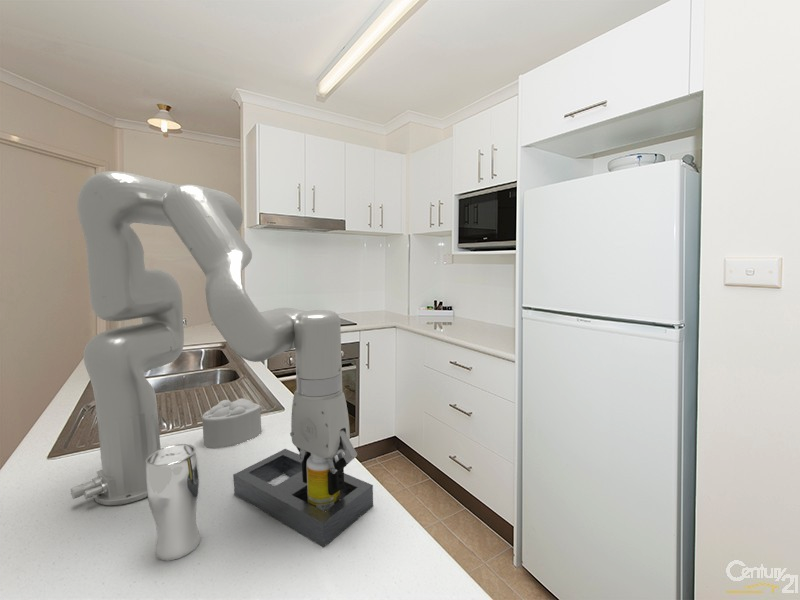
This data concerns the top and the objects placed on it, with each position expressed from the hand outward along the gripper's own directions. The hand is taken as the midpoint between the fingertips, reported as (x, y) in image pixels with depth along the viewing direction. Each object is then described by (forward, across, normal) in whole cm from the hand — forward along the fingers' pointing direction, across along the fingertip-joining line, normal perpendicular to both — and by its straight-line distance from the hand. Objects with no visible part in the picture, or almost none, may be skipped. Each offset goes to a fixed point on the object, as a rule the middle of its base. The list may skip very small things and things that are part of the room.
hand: (323, 484), depth 67 cm
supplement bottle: (+4, 0, 0) cm, 4 cm away
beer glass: (+5, -13, -18) cm, 23 cm away
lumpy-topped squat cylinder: (+6, -41, +8) cm, 42 cm away
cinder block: (+5, -6, 0) cm, 8 cm away
